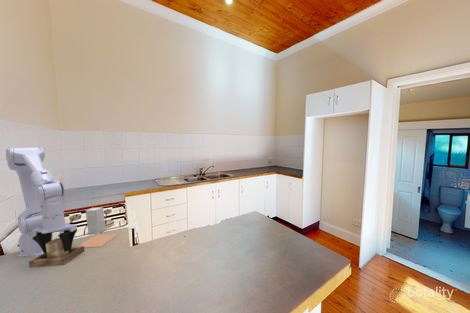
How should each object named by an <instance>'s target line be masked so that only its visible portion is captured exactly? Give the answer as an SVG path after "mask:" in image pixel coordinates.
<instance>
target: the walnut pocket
mask: <svg viewBox="0 0 470 313" xmlns="http://www.w3.org/2000/svg"><path fill="white" fill-rule="evenodd" d="M78 246H79V245H78ZM78 246H72V247H71V249H70V250H68V252H69V254H68V255H67V256H65V257H61V258H48V259H47V253H43V254H41V255H37V257H35V258H33V259H31V260H30V261H28V264H29V265H28V266H29V268H39V267H52V266H53V267H54V266H65V265H67V264H68V263H69V262H71V261H73V260H74V259H75V258H77V257H78V256H79V255H81V254H82V253H84V252H85V248H84V246H79V247H78Z"/></svg>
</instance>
